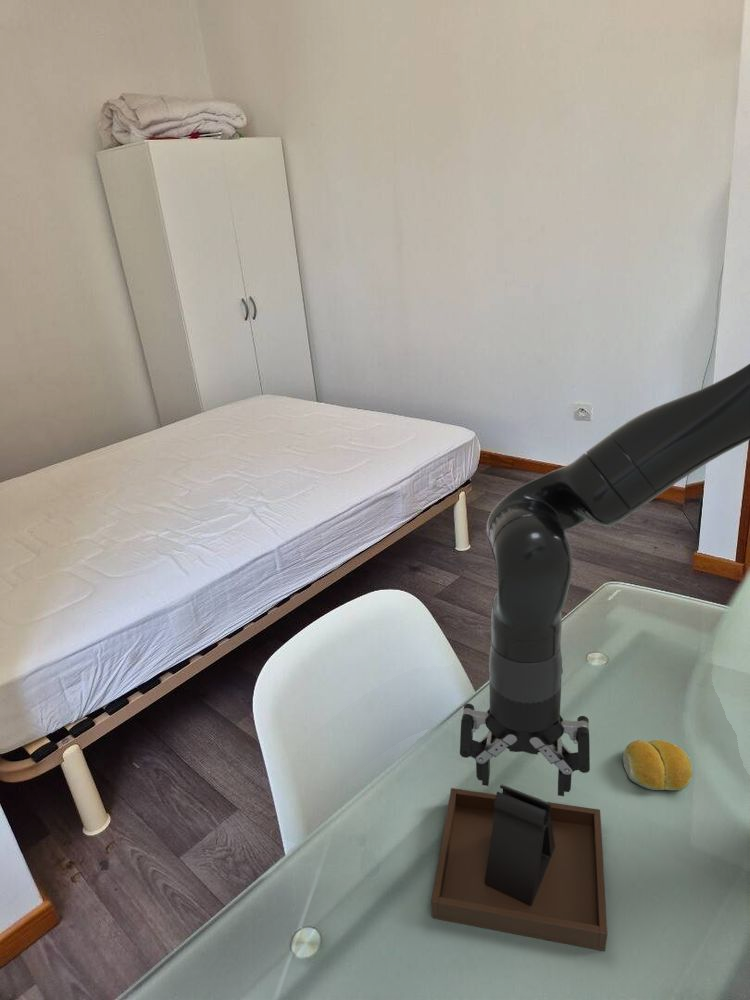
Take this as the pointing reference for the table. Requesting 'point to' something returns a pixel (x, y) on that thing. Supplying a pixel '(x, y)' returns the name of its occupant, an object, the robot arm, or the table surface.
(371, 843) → the table surface
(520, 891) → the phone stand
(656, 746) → the bread roll
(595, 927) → the tray
